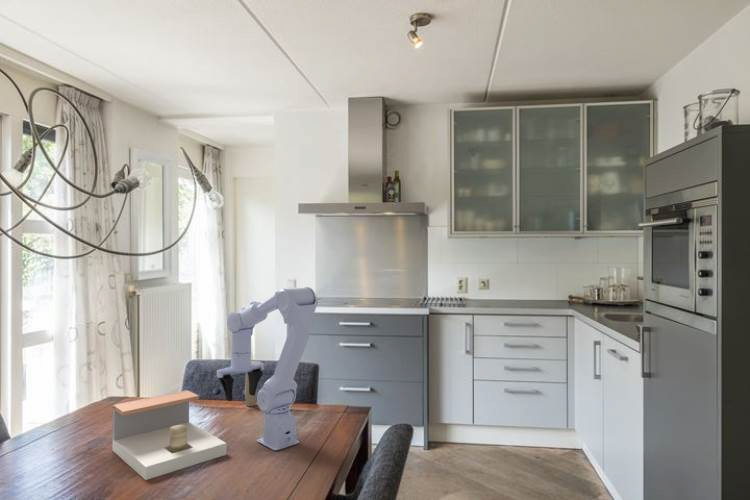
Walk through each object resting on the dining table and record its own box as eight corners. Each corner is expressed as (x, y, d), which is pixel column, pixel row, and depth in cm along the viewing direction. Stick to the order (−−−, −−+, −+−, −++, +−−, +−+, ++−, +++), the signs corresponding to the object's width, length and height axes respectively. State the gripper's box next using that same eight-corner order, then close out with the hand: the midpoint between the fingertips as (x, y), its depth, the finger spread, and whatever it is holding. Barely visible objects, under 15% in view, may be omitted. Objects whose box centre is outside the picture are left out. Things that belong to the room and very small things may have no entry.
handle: (258, 407, 161) (258, 363, 162) (239, 407, 162) (239, 363, 162) (261, 403, 166) (262, 360, 167) (243, 403, 166) (243, 360, 167)
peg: (189, 459, 120) (189, 427, 120) (173, 464, 117) (173, 431, 117) (182, 454, 123) (182, 423, 123) (167, 459, 120) (167, 427, 120)
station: (226, 454, 123) (226, 408, 123) (145, 480, 109) (146, 427, 109) (186, 430, 140) (187, 390, 140) (112, 450, 126) (112, 404, 126)
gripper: (255, 346, 150) (255, 390, 149) (211, 353, 139) (211, 399, 139) (267, 350, 145) (267, 394, 145) (223, 356, 134) (223, 405, 134)
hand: (240, 397), depth 142 cm, fingers open, 7 cm apart
